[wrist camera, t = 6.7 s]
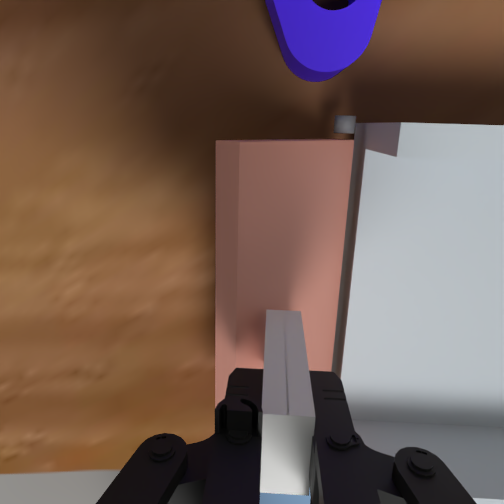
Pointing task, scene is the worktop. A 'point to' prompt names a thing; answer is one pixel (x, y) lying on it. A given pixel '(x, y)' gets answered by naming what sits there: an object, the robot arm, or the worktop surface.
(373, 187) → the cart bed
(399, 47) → the worktop surface
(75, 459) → the worktop surface
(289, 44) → the bracket
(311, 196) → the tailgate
